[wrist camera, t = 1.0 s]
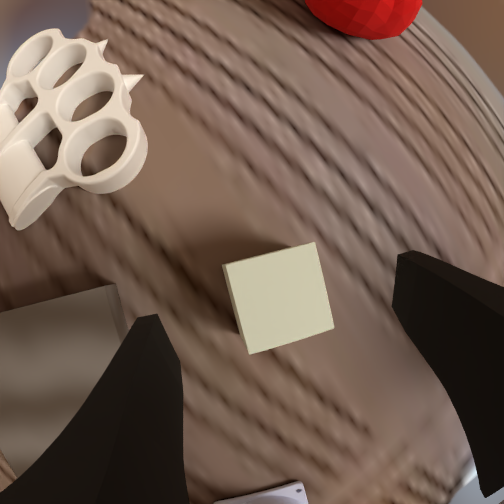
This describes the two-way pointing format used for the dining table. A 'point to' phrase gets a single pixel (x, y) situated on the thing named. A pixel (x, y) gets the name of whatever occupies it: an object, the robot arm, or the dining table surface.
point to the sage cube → (278, 297)
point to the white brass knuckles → (62, 123)
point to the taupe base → (53, 366)
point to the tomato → (366, 16)
